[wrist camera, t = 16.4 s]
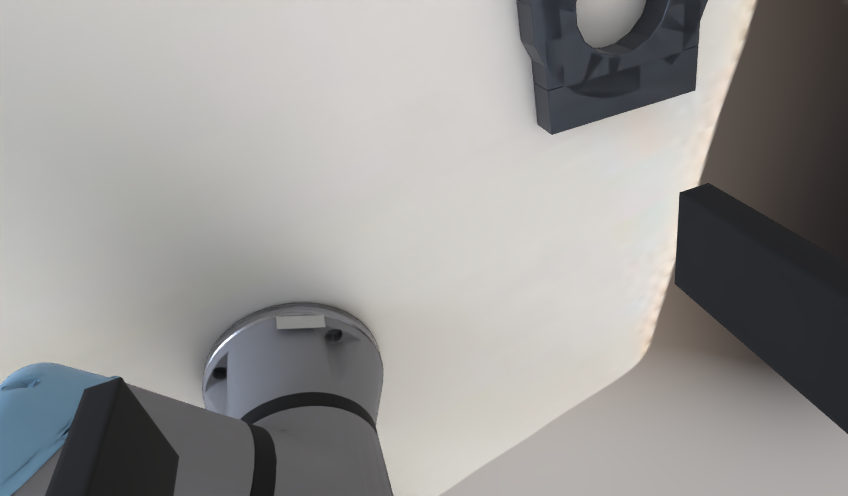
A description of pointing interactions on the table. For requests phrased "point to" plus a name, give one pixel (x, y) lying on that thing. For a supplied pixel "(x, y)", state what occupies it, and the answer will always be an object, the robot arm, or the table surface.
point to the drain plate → (608, 61)
